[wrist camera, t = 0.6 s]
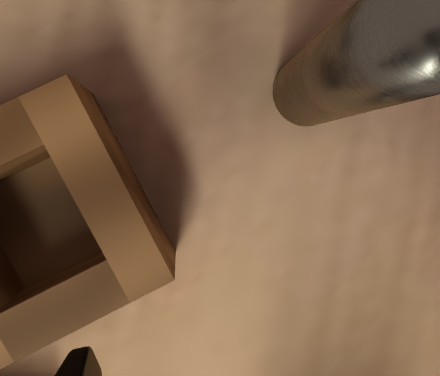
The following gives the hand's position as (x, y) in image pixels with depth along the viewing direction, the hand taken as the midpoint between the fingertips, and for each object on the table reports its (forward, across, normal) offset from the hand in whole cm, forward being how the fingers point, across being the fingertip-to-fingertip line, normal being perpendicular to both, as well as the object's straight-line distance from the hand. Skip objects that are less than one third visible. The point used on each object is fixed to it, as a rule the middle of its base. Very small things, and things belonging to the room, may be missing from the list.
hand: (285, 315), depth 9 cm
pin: (+15, -6, 0) cm, 16 cm away
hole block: (+13, +9, +4) cm, 16 cm away
